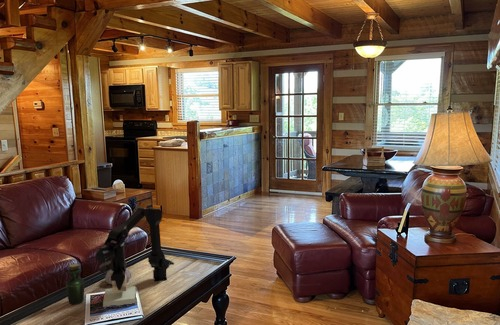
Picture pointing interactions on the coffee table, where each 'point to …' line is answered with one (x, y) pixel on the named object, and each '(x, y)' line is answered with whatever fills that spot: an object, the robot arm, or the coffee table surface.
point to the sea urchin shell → (108, 275)
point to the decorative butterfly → (169, 261)
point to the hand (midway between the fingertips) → (119, 287)
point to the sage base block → (119, 297)
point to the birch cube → (121, 287)
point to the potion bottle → (75, 285)
